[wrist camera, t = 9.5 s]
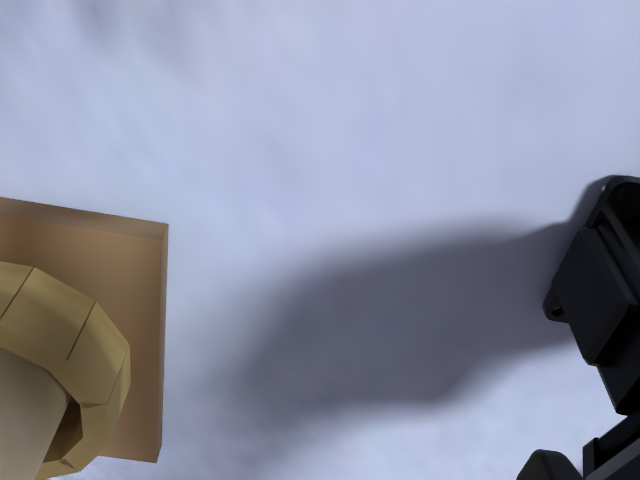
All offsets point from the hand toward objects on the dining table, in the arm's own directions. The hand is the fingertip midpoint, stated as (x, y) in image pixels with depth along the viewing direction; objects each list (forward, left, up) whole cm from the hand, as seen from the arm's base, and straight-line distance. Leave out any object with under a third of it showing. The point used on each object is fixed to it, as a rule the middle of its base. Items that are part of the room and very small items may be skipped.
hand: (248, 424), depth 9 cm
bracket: (+10, +13, -12) cm, 21 cm away
